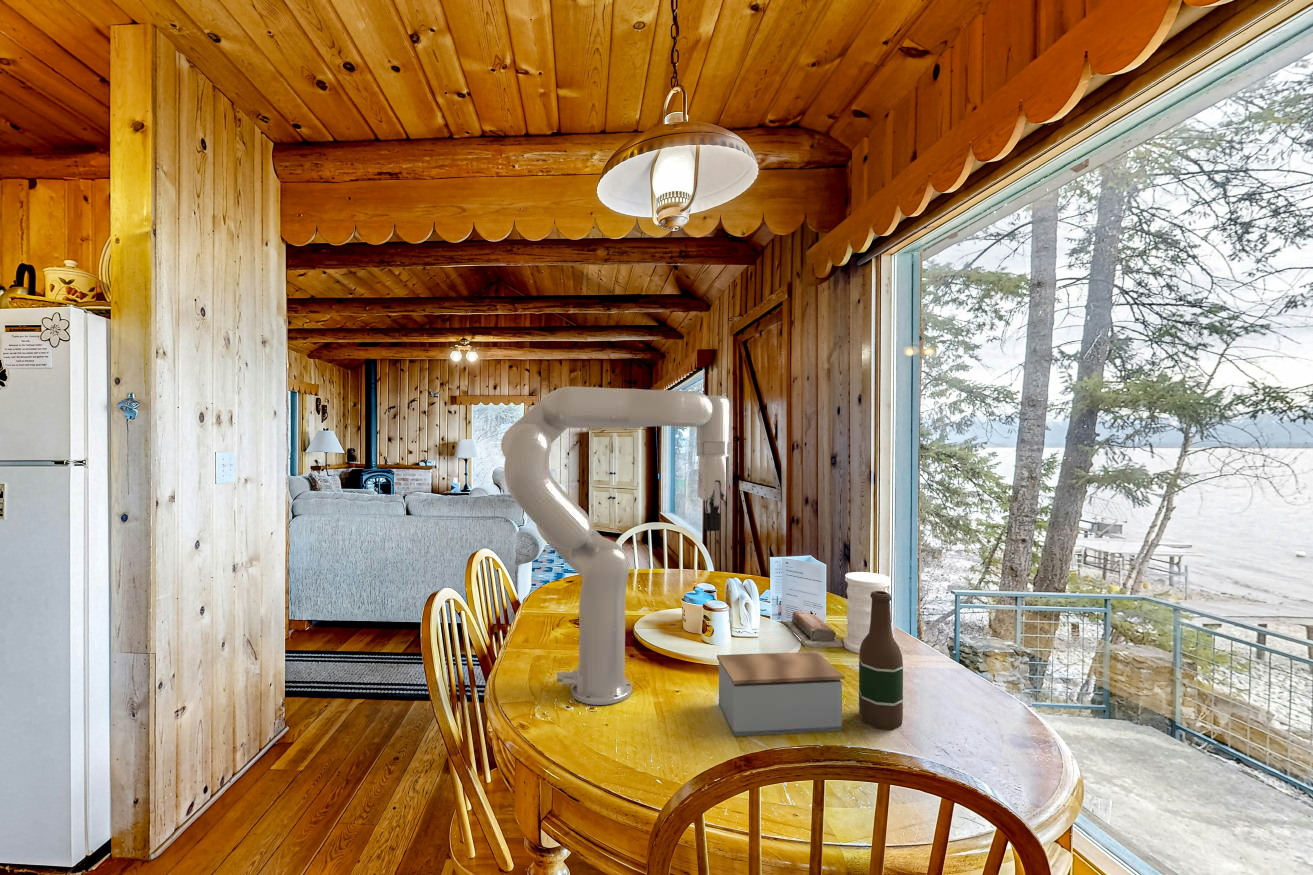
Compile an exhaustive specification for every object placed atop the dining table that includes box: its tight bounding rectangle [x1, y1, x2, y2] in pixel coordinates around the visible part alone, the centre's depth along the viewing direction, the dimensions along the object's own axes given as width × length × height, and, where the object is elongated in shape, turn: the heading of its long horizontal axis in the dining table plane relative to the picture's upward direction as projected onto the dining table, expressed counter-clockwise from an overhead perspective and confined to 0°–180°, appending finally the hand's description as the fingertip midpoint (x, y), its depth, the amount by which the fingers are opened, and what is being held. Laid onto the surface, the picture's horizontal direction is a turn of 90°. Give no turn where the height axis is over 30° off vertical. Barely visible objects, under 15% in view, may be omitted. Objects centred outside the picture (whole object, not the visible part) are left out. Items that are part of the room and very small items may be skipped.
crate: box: [718, 661, 843, 738], centre depth 105 cm, size 20×12×9 cm, turn 96°
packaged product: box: [785, 610, 844, 648], centre depth 151 cm, size 18×5×10 cm
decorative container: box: [843, 571, 891, 654], centre depth 142 cm, size 12×12×18 cm
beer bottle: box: [858, 591, 904, 731], centre depth 105 cm, size 8×8×24 cm
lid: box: [716, 651, 846, 684], centre depth 105 cm, size 21×13×1 cm, turn 97°
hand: (712, 530), depth 127 cm, fingers closed
